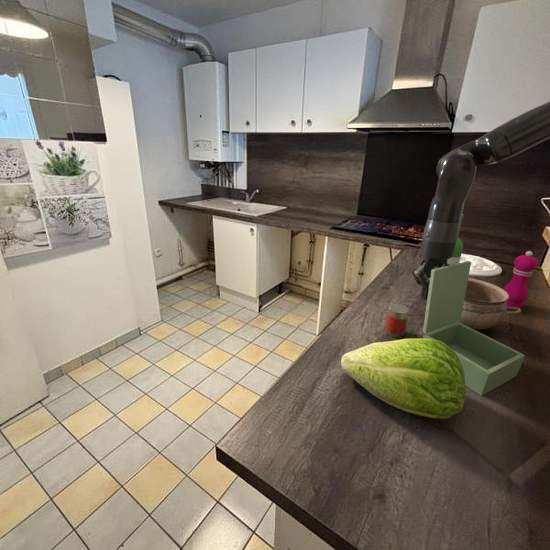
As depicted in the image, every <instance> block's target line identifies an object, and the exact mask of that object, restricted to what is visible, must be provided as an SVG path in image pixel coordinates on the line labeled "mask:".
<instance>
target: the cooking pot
mask: <svg viewBox="0 0 550 550" xmlns="http://www.w3.org/2000/svg"><path fill="white" fill-rule="evenodd" d="M508 298H509V295H508V293H507V292H506V291H504V290H503V288H501V287H499V286H497V285H495V284H493V283H490V282H487V281H484V280H480V279H475V278H472V277H468V282H467V287H466V293H465V298H464V304H463V309H462V314H461V320H460V321H459V322H460V323H462V324H464V325H466V326H468V327H470V328H472V329H474V330H476V331H478V330H488V329H491V328H495V327H496V326H498V325H500V324H501V323H502V322H504V319H505V318H506V316H514V315H518V314H521V312H522V308H521V309H520V308H516V307H508V306H506V300H507V299H508ZM456 323H457V322H456ZM453 324H454V323H453Z"/></svg>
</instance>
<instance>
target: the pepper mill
mask: <svg viewBox="0 0 550 550" xmlns="http://www.w3.org/2000/svg"><path fill="white" fill-rule="evenodd" d="M533 255H534V253H533V252H532V251H531V250H528V251H526V252H525V254H521V255H519V256H517V257H516V258H515V259H514V261H513V266H514V267H513V270H512V273H513V276H512V278H511V280H510V281H509V282H508V283H507V284H506V285H505V286H504V287H502V289H503V290H504V291H506V292H507V293H508V295H509V298H508V299H507V300H506V306H508V307H516V308H520V309H521V310H522V309H523V306H524V302H525V301H527V300H528V298H529V288H528V280H529V278H530V277H531V276H532V275H533V270H535V269H537V267H538V265H539V261H538V259H537V258H536V257H534V256H533Z"/></svg>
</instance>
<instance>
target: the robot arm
mask: <svg viewBox="0 0 550 550" xmlns="http://www.w3.org/2000/svg"><path fill="white" fill-rule="evenodd" d="M549 139H550V101H548V102H545V103H543V104H541V105H538V106H536V107H533V108H532V109H530V110H527V111H525V112H523V113H521V114H519V115H517V116H515V117H514V118H511V119H509V120H507V121H506V122H504V123H503V124H500V125H499V126H496V127H495V128H494V129H492V130H490V131H488V132H487V133H485V134H484V135H482V136H480V137H478V138H476V139H474V140H472V141H469V142H468V143H467V142H466V143H465V144H463V145H461V146H459V147H457V148H455V149H453V150H451V151H449V152H448V153H446V154H444V155H443V156H442V157H441V158H439V160H438V162H437V164H436V169H435V170H436V171H435V172H436V175H437V177H438V180H437V185H436V189H435V193H434V194H435V195H434V196H433V197H432V199H431V202H430V206H429V211H428V215H427V219H426V222H425V226H424V229H423V234H422V237H421V244H420V249H419V253H420V255H421V257H422V258H421V260H420V262H419V267H418V268H417V269H416V268H413V269H412V271H411V273H412V276H413V278H414V280H415V283H416V284H417V285H418V286H421V292H420V299H422V300H424V301H426V302H427V299H428V292H429V285H430V277H431V270H432V269H437V268H441V267H445V266H449V264H448V263H447V261H448V259H450V258H452V256H453V253H454V249H455V245H456V241H457V237H459V235H458V233H459V234H460V231H459V226H460V220H461V216H462V214H463V211H464V207H465V202H466V200H467V197H468V195H469V193H470V190H471V188H472V185H473V183H474V180H475V176H476V173H477V171H480V170H481V169H484V168H485V167H488V166H490V165H494V164H498V163H501V162H503V161H504V162H505V161H506V160H508V159H510V158H512V157H514V156H516V155H518V154H520V153H522V152H524V151H527V150H529V149H530V148H532V147H534V146H536V145H538V144H540V143H542V142H545V141H547V140H549Z"/></svg>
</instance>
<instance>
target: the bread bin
mask: <svg viewBox="0 0 550 550" xmlns="http://www.w3.org/2000/svg"><path fill="white" fill-rule="evenodd" d="M422 338H429V339H435V340H440V341H442V342H444V343H445V344H446V345H447V346H448V347H450V348H451V349H452V350H453V351H454V352H455V353H456V354H457V356H458V358H459V359H460V361H461V364H462V367H463V370H464V376H465V386H466V388H468V389H470V390H472V391H473V392H474V393H476V394H478V395H479V396H484V395H486V394H487V393H489V392H491V391H492V390H494V389H496V388H498V387H500V386H501V385H503V384H505V383H507V382H508V381H511V380H513V379H514V378H516V377H517V376H518V374H519V371H520V369H521V366H522V364H523V362H524V360H525V357H526V355H525V354H524V353H522V352H520V351H517V350H515V349H514V348H512V347H510V346H508V345H505V344H504V343H501V342H500V341H497V340H495V339H493V338H491V337H489V336H488V335H486V334H484V333H481V332H480V331H478V330H474V329H472V328H470V327H468V326H466V325H464V324H462V323H460V322H457V323H454V324H450V325H448V326H445V327H442V328H440V329H437V330H434V331H432V332H429V333H426V334H425V333H424V334H423V336H422Z"/></svg>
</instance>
